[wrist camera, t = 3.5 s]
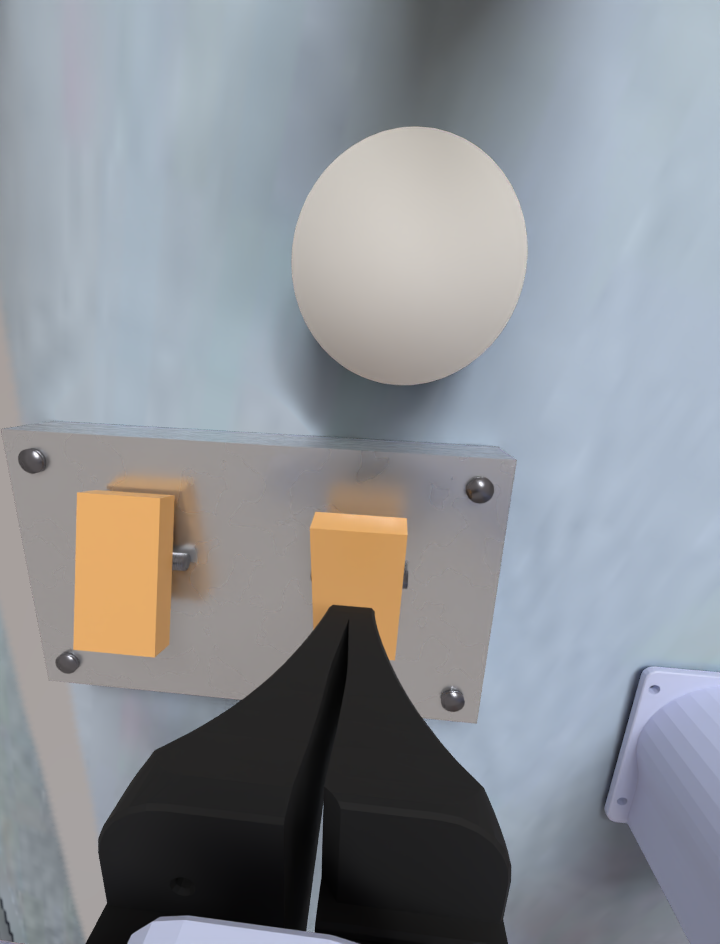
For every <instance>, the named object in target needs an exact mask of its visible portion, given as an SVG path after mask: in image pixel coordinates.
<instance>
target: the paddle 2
mask: <svg viewBox="0 0 720 944" xmlns="http://www.w3.org/2000/svg"><path fill="white" fill-rule="evenodd" d="M407 536H408V533H407V518H397V517H383V516H369V515H354V514H340V513H326V512H315V514H314V517H313V520H312V523H311V526H310V550H311V578H312V606H313V630H314V629H315V627H316V626H317V625H318V623H319V622H320V621H321V619H322V618H323V616H324V615H325V613H326V612H327V610H328V608H329V607H330V606H332V605H343V606H355V607H367V608H372V609H373V610H374V611H375V620H376V624H377V628H378V631H379V635H380V638H381V641H382V644H383V646H384V649H385V651H386V654H387V656H388V658H389V660H394V661H395V655H396V645H397V635H398V625H399V615H400V605H401V596H402V586H403V576H404V566H405V556H406V546H407Z"/></svg>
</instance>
